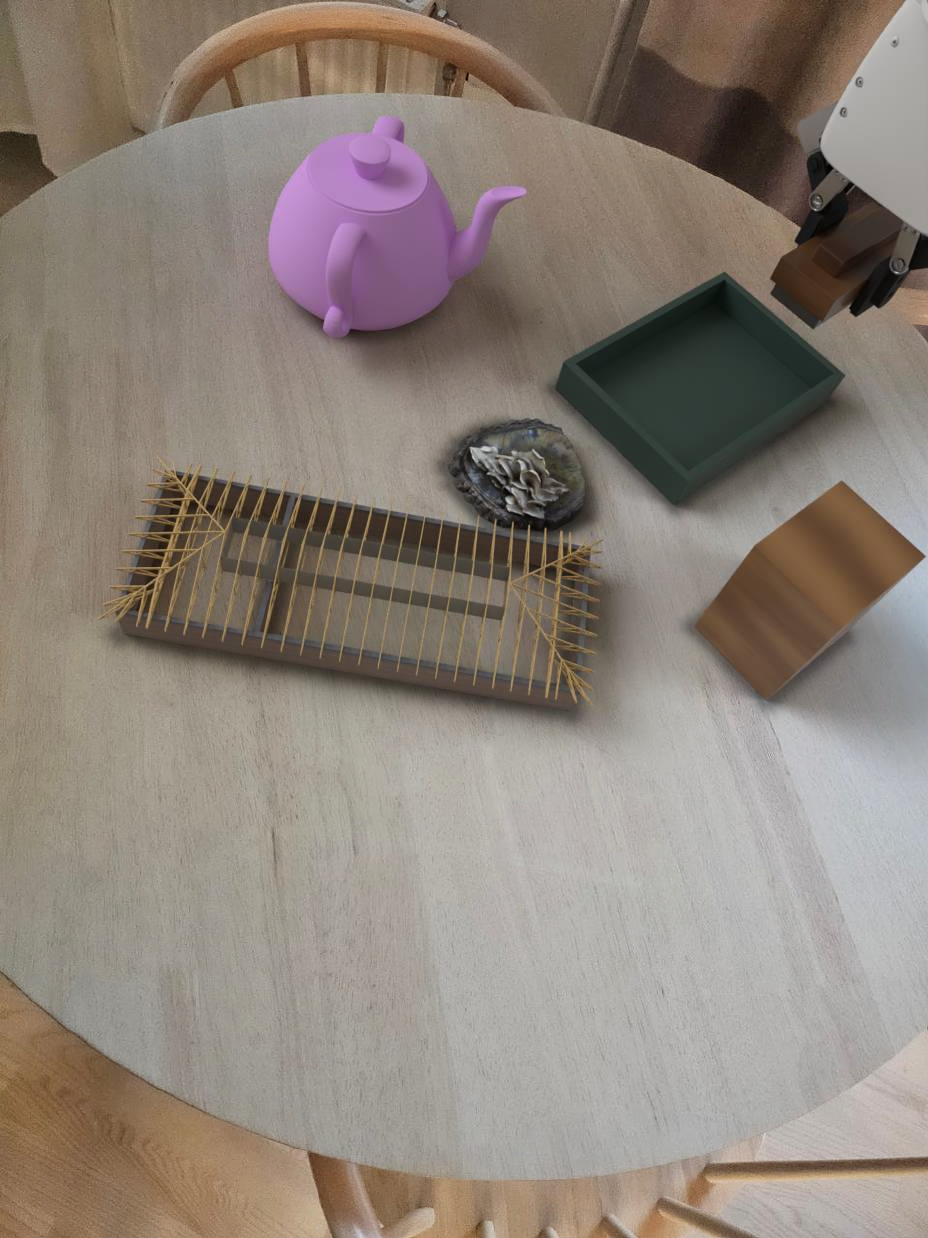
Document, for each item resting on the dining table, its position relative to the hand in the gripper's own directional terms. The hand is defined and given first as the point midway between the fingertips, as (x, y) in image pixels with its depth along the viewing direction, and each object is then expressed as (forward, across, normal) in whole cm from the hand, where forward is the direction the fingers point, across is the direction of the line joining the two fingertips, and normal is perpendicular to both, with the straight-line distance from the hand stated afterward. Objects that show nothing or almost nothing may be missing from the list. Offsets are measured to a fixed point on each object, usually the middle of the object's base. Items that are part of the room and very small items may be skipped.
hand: (835, 280), depth 63 cm
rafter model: (+23, +9, +32) cm, 40 cm away
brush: (0, 0, 0) cm, 0 cm away
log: (+23, +10, +14) cm, 29 cm away
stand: (+23, -13, +7) cm, 27 cm away
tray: (+23, +8, -6) cm, 25 cm away
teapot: (+23, +34, +9) cm, 42 cm away
